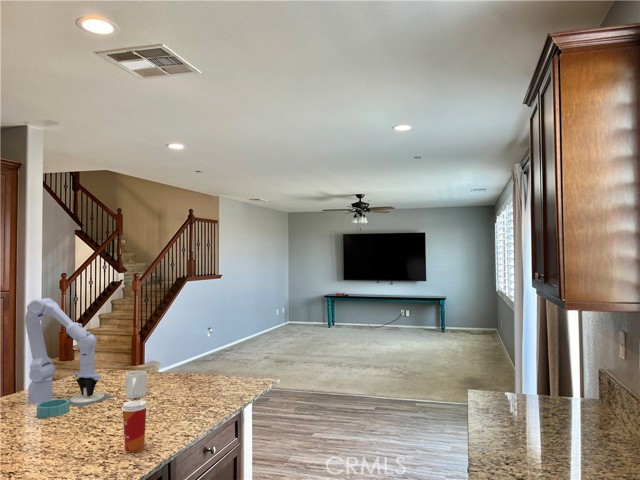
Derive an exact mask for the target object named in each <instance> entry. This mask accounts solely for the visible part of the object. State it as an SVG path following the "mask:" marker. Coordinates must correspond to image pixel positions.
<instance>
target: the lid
mask: <svg viewBox="0 0 640 480" xmlns="http://www.w3.org/2000/svg"><path fill="white" fill-rule="evenodd" d="M104 394H105V393H103V392H99V391H98V392H97V391H94V392H93V395H91V396H87V390H86V387H84V388H83V395H82V393H80V394H77V395H76V394H75V395H74V396H71V397H70V402H71V403H73V404H85V403H92V402H96V401H99V400H101V399H103V398H104Z"/></svg>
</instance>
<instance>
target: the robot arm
mask: <svg viewBox="0 0 640 480" xmlns="http://www.w3.org/2000/svg"><path fill="white" fill-rule="evenodd" d="M45 316H49V317H53V318H54V319H55V320H57V322H59V323H60V324H61V325H62V326H63V327H64V328H66V329H65V333H66V334H68V335H69V336H70V338H72V340H74V341H75V342H76V343H77V344H76V345H77V347H78V349H79V371H75V372H74V377H75V378H76V379H75V380H76V381H75V382H76V383H77V385H78V387H79V389H80V392H81V393H80V394H82V395H83V388H84V387H86V390H87V396H91V395H93V392H95V391H94V390H95V388H96V385H97V383H98V381H100V380H101V374H98V373H97V372H96V371H95V370H96V369H95V367H96V365H95V364H96V361H95V360H96V353H95V352H96V351H95V350H96V347H95V346H96V345H97V342H98V339H97V337H96V335H95V334H93V333H90V331H87V330H86V329H85V328H84V327H83V324H82V323H81V322H80V323H78V322H77V321H76V322H74V321H73V320H72V319H71V318H70V317H69V316H68V315H67V314H66V313H65V312H64V311H63V310H62V309H61V307H60V305H59V304H58V302H56V301H55V300H54V299H52V298H51V297H45V298H39V299H37V298H36V299H33V300H31V301H30V302H28V304H27V306H26V314H25V317H24V323H25V329H26V333H27V338H28V343H29V348H30V353H31V357H32V362H31V363H30V365H29V368H30V369H29V370H30V371H29V379H30V380H31V382H30V383H29V385H28V391H27V393H28V398H27V400H26V401H25V402H26V403H27V402H28V403H30V404H34V405H38V404H40V403H42V402H45V401H49V400H56V399H57V398H54V397H53V376H54V375H55V373H56V371H57V370H56V366H55V364H53V362H52V359H51V357H49V356H48V353H47V347H46V342H45V337H44V333H43V328H42V322H41V321H42V319H44V317H45Z"/></svg>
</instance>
